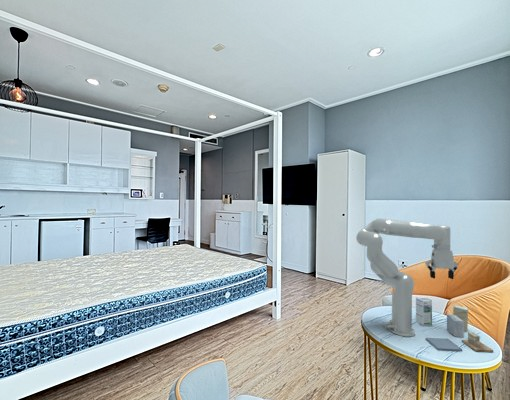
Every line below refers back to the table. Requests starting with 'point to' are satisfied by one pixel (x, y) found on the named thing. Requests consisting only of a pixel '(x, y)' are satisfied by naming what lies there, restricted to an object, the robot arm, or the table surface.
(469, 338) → the stub
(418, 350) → the table surface
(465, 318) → the skincare box
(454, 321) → the medicine box
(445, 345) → the plate
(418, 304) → the syrup box
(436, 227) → the robot arm
